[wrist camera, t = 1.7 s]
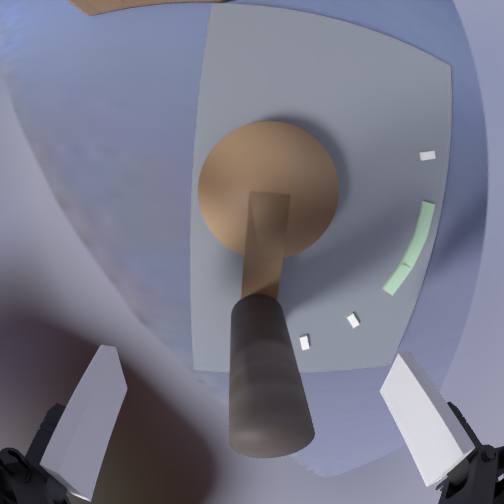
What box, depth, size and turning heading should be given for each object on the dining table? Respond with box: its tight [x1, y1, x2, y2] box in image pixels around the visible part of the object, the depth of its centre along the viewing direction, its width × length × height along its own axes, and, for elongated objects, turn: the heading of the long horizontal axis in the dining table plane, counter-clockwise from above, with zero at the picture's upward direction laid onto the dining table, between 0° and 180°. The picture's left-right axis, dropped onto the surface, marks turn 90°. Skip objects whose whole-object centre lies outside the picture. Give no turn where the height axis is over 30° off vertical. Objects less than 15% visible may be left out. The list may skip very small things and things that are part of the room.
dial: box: [198, 121, 339, 458], centre depth 11 cm, size 15×7×9 cm, turn 175°
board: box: [190, 3, 452, 373], centre depth 16 cm, size 24×16×2 cm, turn 175°
